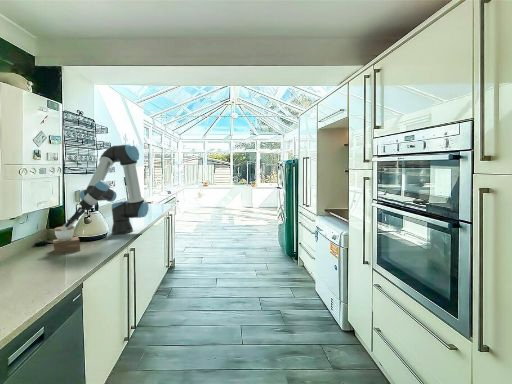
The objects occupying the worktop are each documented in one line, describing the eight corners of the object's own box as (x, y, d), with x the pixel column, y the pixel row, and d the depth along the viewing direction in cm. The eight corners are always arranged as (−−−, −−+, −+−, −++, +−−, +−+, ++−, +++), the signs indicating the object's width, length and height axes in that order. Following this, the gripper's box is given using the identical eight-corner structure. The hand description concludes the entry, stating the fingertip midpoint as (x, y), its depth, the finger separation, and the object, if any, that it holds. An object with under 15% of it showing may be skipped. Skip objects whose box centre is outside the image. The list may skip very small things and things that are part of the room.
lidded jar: (61, 242, 236) (59, 226, 235) (52, 241, 242) (50, 225, 241) (78, 238, 244) (76, 223, 243) (69, 237, 251) (67, 222, 250)
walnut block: (54, 250, 247) (52, 239, 246) (78, 247, 253) (77, 236, 253) (54, 255, 234) (53, 243, 234) (80, 251, 241) (79, 239, 240)
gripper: (90, 208, 233) (65, 236, 232) (96, 203, 258) (74, 229, 256) (79, 200, 232) (54, 228, 230) (87, 196, 256) (64, 222, 254)
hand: (65, 228), depth 243 cm, fingers open, 13 cm apart
